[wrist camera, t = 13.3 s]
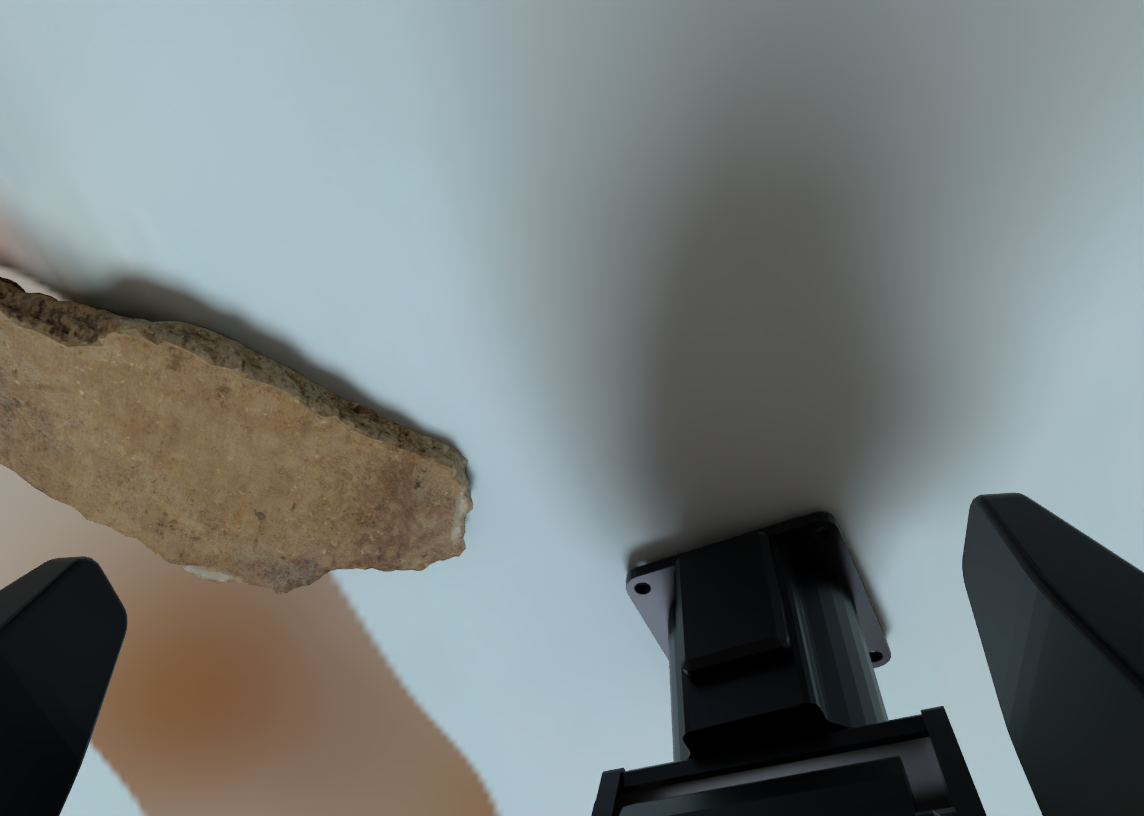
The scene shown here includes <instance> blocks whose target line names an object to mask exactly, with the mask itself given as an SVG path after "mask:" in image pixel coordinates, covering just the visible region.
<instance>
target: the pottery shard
mask: <svg viewBox="0 0 1144 816" xmlns="http://www.w3.org/2000/svg"><path fill="white" fill-rule="evenodd" d="M467 463H468V460H467V459H466V458H464V457H463V456H461V455H460V453H459V452H458V451H457V450H456V449H454V448H453V447H451V446H450V445H448V444H445V443H443V442H441V441H439V440H436V439H434V438H431V437H429V436H424V435H422V434H420V433H418V432H416V431H414V430H411V429H409V428H406V427H404V426H401V425H398V424H395V423H394V422H392V421H390V420H388V419H384V418H380V417H378V416H377V414H376V413H375V412H374V411H372V410H371V409H370V408H368V407H367V406H365V405H362V404H360V403H356V402H349V401H346V400H344V399H342V398H340V397H339V396H338V395H336V394H335V393H333V392H331V391H329V390H327V389H325V388H323V387H321V386H320V385H318V384H316V383H314V382H313V381H311V380H309V379H308V378H306V377H304V376H303V375H301V374H299V373H297V372H295V371H294V370H292V369H290V368H289V367H287V366H285V365H283V364H281V363H279V362H277V361H275V360H273V359H271V358H268V357H265V356H262V355H260V354H258V353H256V352H254V351H252V350H250V349H248V348H247V347H245V346H244V345H242V344H241V343H239V342H238V341H234V340H231V339H228V338H226V337H224V336H222V335H221V334H219V333H216V332H214V331H211V330H209V329H206V328H203V327H199V326H196V325H192V324H188V323H185V322H177V321H160V322H150V321H147V320H145V319H133V318H128V317H123V316H119V315H115V314H113V313H111V312H109V311H107V310H100V309H97V308H94V307H91V306H87V305H84V304H81V303H78V302H73V301H58V300H57V299H55V298H54V297H52V296H49V295H45V294H42V293H26V292H25V290H24V289H23V288H22V287H21V286H20V285H19V284H17V283H16V282H14V281H12V280H10V279H7V278H3V277H0V464H2V465H4V466H6V467H7V468H9V469H11V470H13V471H14V472H16V473H17V474H18V475H19V476H20V477H22V478H23V479H24V480H25V481H27V482H28V483H29V484H31V485H32V486H33V487H35V488H36V489H38V490H40V491H42V492H44V493H45V494H46V495H48V496H49V497H51V498H53V499H55V500H58V501H60V502H62V503H65V504H68V505H70V506H72V507H74V508H75V509H77V510H78V511H79V512H80V513H81V514H82V515H83V516H84V517H85V518H86V519H87V520H90V521H93V522H96V523H99V524H103V525H107V526H109V527H111V528H113V529H114V530H116V531H118V532H119V533H121V534H123V535H125V536H129V537H135V538H137V539H139V540H140V541H141V542H142V543H143V544H144V545H145V546H146V547H148V548H149V549H150V550H152V551H153V552H154V553H155V554H157V555H160V556H162V557H163V559H164V560H166V561H167V562H169V563H172V564H178V565H181V566H182V567H183V568H184V569H185V570H186V571H187V572H189V573H191V574H193V575H195V576H198V577H200V578H203V579H207V580H211V581H214V582H216V583H227V582H229V581H233V582H238V583H243V584H248V585H254V586H261V587H265V588H268V589H270V590H272V591H274V592H275V593H277V594H281V593H287V592H289V591H290V590H292V589H294V588H297V587H300V586H306V585H310V584H311V583H313V582H315V581H316V580H318V579H320V578H321V577H322V576H323V575H324V574H326V573H328V572H329V571H331V570H336V569H354V568H358V569H365V570H366V569H369V568H374V569H377V570H381V571H394V570H417V571H421V570H424V569H425V568H426V567H428V566H429V565H430V564H432V563H434V562H436V561H439V560H446V559H449V558H452V557H454V556H460V554H461V553H462V552H463V551H464V550H465V549H466V546H465V542H464V539H463V537H464V533H465V517H466V514H467V513H468V512H469V511H471V510H472V509H473V502H472V499H471V490H470V485H469V482H468V479H467V477H466V472H465V467H466V465H467Z"/></svg>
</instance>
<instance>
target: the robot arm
mask: <svg viewBox="0 0 1144 816" xmlns="http://www.w3.org/2000/svg"><path fill="white" fill-rule="evenodd" d="M822 527H824V528H826V529H825V530H823V531H820V532H816V531H814V530H816V529H817V528H822ZM962 569H963V577H964V583H965V587H966V590H967V594H968V597H969V601H970V604H971V607H972V611H973V614H974V618H975V621H976V625H977V628H978V632H979V635H980V639H981V642H982V645H983V649H984V652H985V656H986V659H987V663H988V666H989V670H990V673H991V676H992V680H993V683H994V687H995V690H996V694H997V697H998V701H999V704H1000V707H1001V711H1002V714H1003V717H1004V720H1005V723H1006V727H1007V730H1008V732H1009V735H1010V738H1011V740H1012V743H1013V745H1014V748H1015V750H1016V753H1017V756H1018V758H1019V760H1020V763H1021V765H1022V767H1023V770H1024V772H1025V775H1026V777H1027V779H1028V782H1029V784H1030V786H1031V789H1032V791H1033V793H1034V796H1035V798H1036V801H1037V803H1038V805H1039V808H1040V810H1041V812H1042V815H1043V816H1144V572H1142V571H1141V570H1139V569H1138V568H1136V567H1135V566H1133V565H1132V564H1130V563H1129V562H1127V561H1125V560H1124V559H1122V558H1121V557H1119V556H1118V555H1116V554H1115V553H1113V552H1112V551H1110V550H1109V549H1107V548H1106V547H1104V546H1102V545H1101V544H1099V543H1098V542H1096V541H1095V540H1093V539H1092V538H1090V537H1089V536H1087V535H1086V534H1084V533H1082V532H1081V531H1079V530H1078V529H1076V528H1075V527H1073V526H1072V525H1070V524H1069V523H1067V522H1066V521H1064V520H1062V519H1061V518H1059V517H1058V516H1056V515H1055V514H1053V513H1052V512H1050V511H1049V510H1047V509H1046V508H1044V507H1042V506H1041V505H1039V504H1038V503H1036V502H1035V501H1033V500H1032V499H1030V498H1029V497H1027V496H1025V495H1023V494H1020V493H1001V494H986V495H979V496H977V497H976V498H974V499H973V501H972V503H971V505H970V509H969V516H968V523H967V530H966V537H965V544H964V552H963V560H962ZM642 582H644V583H648V584H646V585H639V584H638V583H642ZM626 590H627V593H628V595H629V596H630V598H631V600H632V601H633V603H634V605H635V606H636V608H637V609H638V611H639V613H640V614H641V616H642V618H643V619H644V621H645V623H646V624H647V626H648V627H649V629H650V631H651V632H652V634H653V636H654V637H655V639H656V640H657V642H658V644H659V645H660V647H661V649H662V650H663V652H664V653H665V655H666V657H667V658H668V660H669V668H670V691H671V713H672V736H673V759H674V762H670V763H665V764H660V765H655V766H649V767H644V768H639V769H634V770H629V771H625V769H624V768H619V769H614V770H609V771H604V772H603V773H602V777H601V781H600V785H599V790H598V794H597V798H596V801H595V803H594V807H593V812H592V816H986V813H985V811H984V808H983V806H982V803H981V801H980V798H979V795H978V793H977V790H976V788H975V785H974V783H973V780H972V778H971V775H970V773H969V770H968V767H967V765H966V762H965V760H964V757H963V755H962V752H961V750H960V747H959V745H958V742H957V739H956V737H955V734H954V732H953V729H952V727H951V724H950V722H949V719H948V717H947V714H946V711H945V709H944V706H940V707H935V708H930V709H925V710H921V714H920V715H915V716H910V717H904V718H899V719H894V720H889V721H888V717H887V714H886V710H885V707H884V703H883V700H882V697H881V693H880V690H879V686H878V683H877V679H876V676H875V673H874V669H873V668H876V667H880V666H882V665H885V664H886V663H887V662H888V661H889V660H890V658H891V652H890V649H889V646H888V643H887V640H886V638H885V636H884V633H883V631H882V628H881V626H880V624H879V621H878V619H877V616H876V614H875V612H874V609H873V607H872V604H871V602H870V600H869V597H868V595H867V593H866V590H865V588H864V585H863V583H862V581H861V578H860V576H859V573H858V571H857V569H856V566H855V564H854V561H853V559H852V557H851V554H850V552H849V549H848V547H847V545H846V542H845V540H844V538H843V535H842V533H841V530H840V528H839V526H838V523H837V521H836V519H835V518H834V516H833V515H831V514H829V513H827V512H814V513H811V514H807V515H804V516H801V517H798V518H795V519H791V520H788V521H785V522H782V523H779V524H775V525H772V526H769V527H766V528H762V529H759V530H756V531H753V532H750V533H746V534H743V535H740V536H737V537H734V538H730V539H727V540H724V541H721V542H718V543H714V544H711V545H708V546H705V547H702V548H698V549H695V550H692V551H689V552H685V553H682V554H679V555H676V556H673V557H669V558H666V559H663V560H660V561H657V562H653V563H650V564H647V565H644V566H641V567H637V568H635V569H633V570H631V571H630V572H629V573H628V574H627V577H626ZM126 630H127V614H126V610H125V608H124V606H123V604H122V602H121V601H120V599H119V597H118V596H117V594H116V592H115V591H114V589H113V587H112V585H111V584H110V582H109V580H108V579H107V577H106V575H105V574H104V572H103V570H102V569H101V567H100V565H99V564H98V563H97V562H96V561H94V560H93V559H92V558H89V557H68V558H57V559H52V560H49V561H47V562H45V563H43V564H42V565H40V566H38V567H37V568H35V569H34V570H32V571H30V572H29V573H27V574H26V575H24V576H22V577H21V578H19V579H18V580H16V581H14V582H13V583H11V584H10V585H8V586H6V587H5V588H3V589H2V590H0V816H59V815H60V813H61V811H62V808H63V806H64V804H65V802H66V799H67V797H68V795H69V793H70V790H71V788H72V786H73V783H74V781H75V779H76V776H77V774H78V771H79V769H80V767H81V764H82V761H83V759H84V756H85V753H86V750H87V748H88V745H89V742H90V739H91V736H92V733H93V730H94V727H95V724H96V721H97V718H98V715H99V712H100V709H101V706H102V703H103V700H104V697H105V694H106V691H107V688H108V685H109V682H110V679H111V676H112V673H113V670H114V667H115V664H116V661H117V658H118V655H119V652H120V649H121V647H122V644H123V641H124V638H125V634H126ZM873 651H875V652H873Z"/></svg>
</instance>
